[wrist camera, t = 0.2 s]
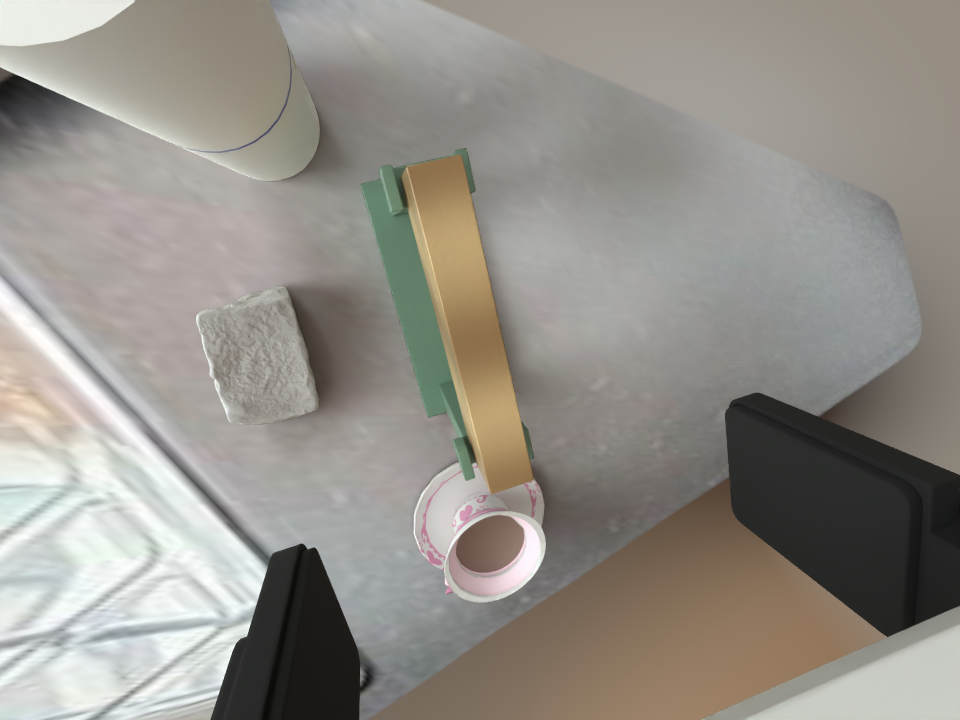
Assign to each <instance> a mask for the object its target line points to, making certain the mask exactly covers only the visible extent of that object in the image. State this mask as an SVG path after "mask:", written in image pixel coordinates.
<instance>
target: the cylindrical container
mask: <svg viewBox="0 0 960 720" xmlns="http://www.w3.org/2000/svg"><path fill="white" fill-rule="evenodd" d="M0 67H1V68H3V69H5V70H8V71H10V72H12V73H14V74H16V75H19V76H21V77H23V78H25V79H28V80H30V81H32V82H35V83H37V84H39V85H41V86H44V87H46V88H48V89H50V90H53V91H55V92H57V93H59V94H62V95H64V96H66V97H68V98H71V99H73V100H75V101H77V102H80V103H82V104H84V105H87V106H89V107H91V108H93V109H96V110H98V111H100V112H102V113H105V114H107V115H109V116H111V117H114V118H116V119H118V120H120V121H123V122H125V123H127V124H129V125H132V126H134V127H136V128H138V129H141V130H143V131H145V132H148V133H150V134H152V135H154V136H157V137H159V138H161V139H163V140H166V141H168V142H170V143H172V144H175V145H177V146H179V147H181V148H184V149H186V150H188V151H190V152H193V153H195V154H197V155H200V156H202V157H204V158H206V159H209V160H211V161H213V162H215V163H218V164H220V165H222V166H224V167H227V168H229V169H231V170H233V171H236V172H238V173H240V174H242V175H245V176H248V177H250V178H253V179H257V180H262V181H278V180H283V179H287V178H289V177H292V176H294V175H296V174H298V173H299V172H300V171H302V170H303V169H304V168H305V167H306V166H307V165H308V164H309V163H310V161H311V160H312V158H313V156H314V154H315V152H316V150H317V147H318V143H319V137H320V125H319V118H318V114H317V111H316V108H315V105H314V103H313V101H312V98H311V96H310V94H309V91H308V89H307V87H306V85H305V82H304V80H303V78H302V75H301V73H300V71H299V68H298V66H297V64H296V61H295V59H294V57H293V55H292V52H291V50H290V48H289V45H288V43H287V41H286V38H285V36H284V34H283V31H282V29H281V27H280V24H279V22H278V20H277V17H276V15H275V13H274V10H273V8H272V6H271V4H270V1H269V0H0Z"/></svg>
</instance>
